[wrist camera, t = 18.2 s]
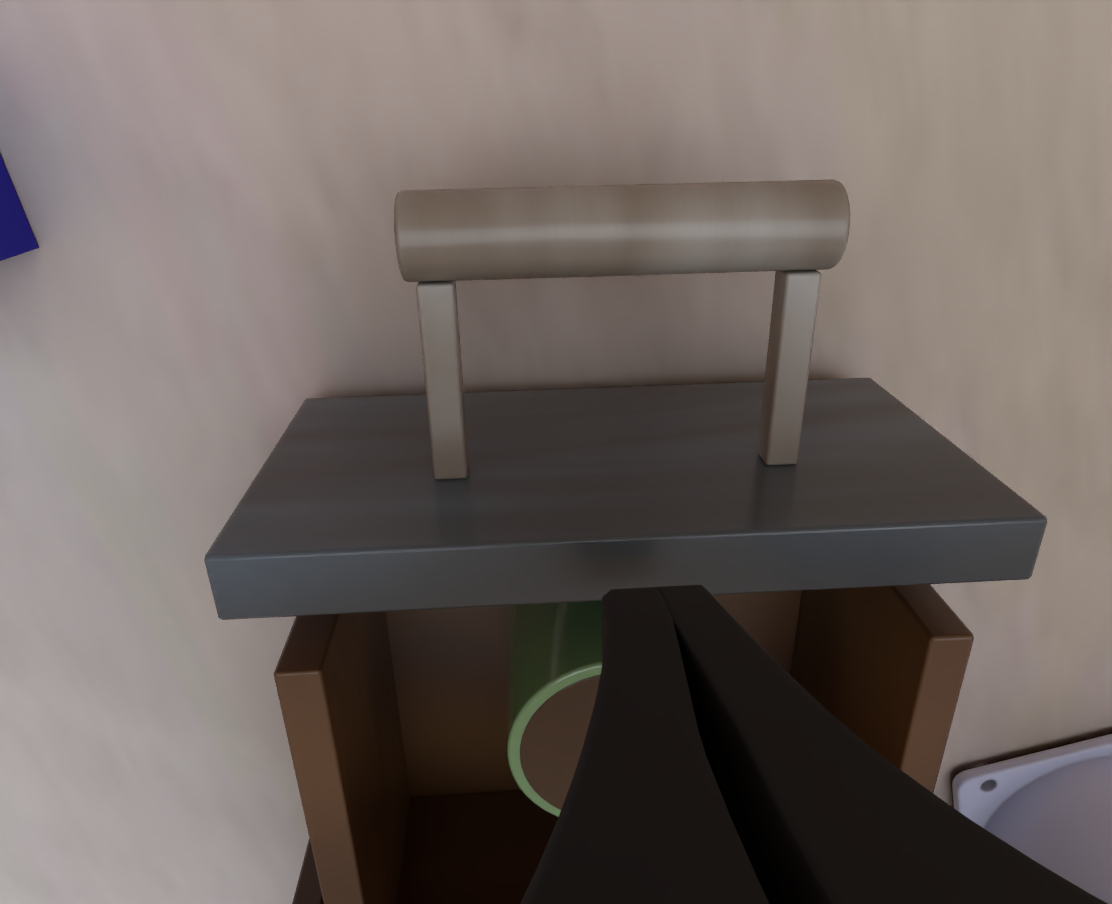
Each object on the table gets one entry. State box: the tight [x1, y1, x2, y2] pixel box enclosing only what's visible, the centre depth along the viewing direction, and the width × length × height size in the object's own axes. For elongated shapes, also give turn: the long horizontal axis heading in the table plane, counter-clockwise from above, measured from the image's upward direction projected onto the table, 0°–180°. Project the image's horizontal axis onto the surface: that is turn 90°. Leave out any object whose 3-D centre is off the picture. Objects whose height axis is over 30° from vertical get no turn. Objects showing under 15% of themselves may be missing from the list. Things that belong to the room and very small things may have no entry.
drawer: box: [204, 180, 1047, 904], centre depth 17 cm, size 17×13×7 cm
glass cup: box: [506, 601, 602, 817], centre depth 17 cm, size 4×4×5 cm
